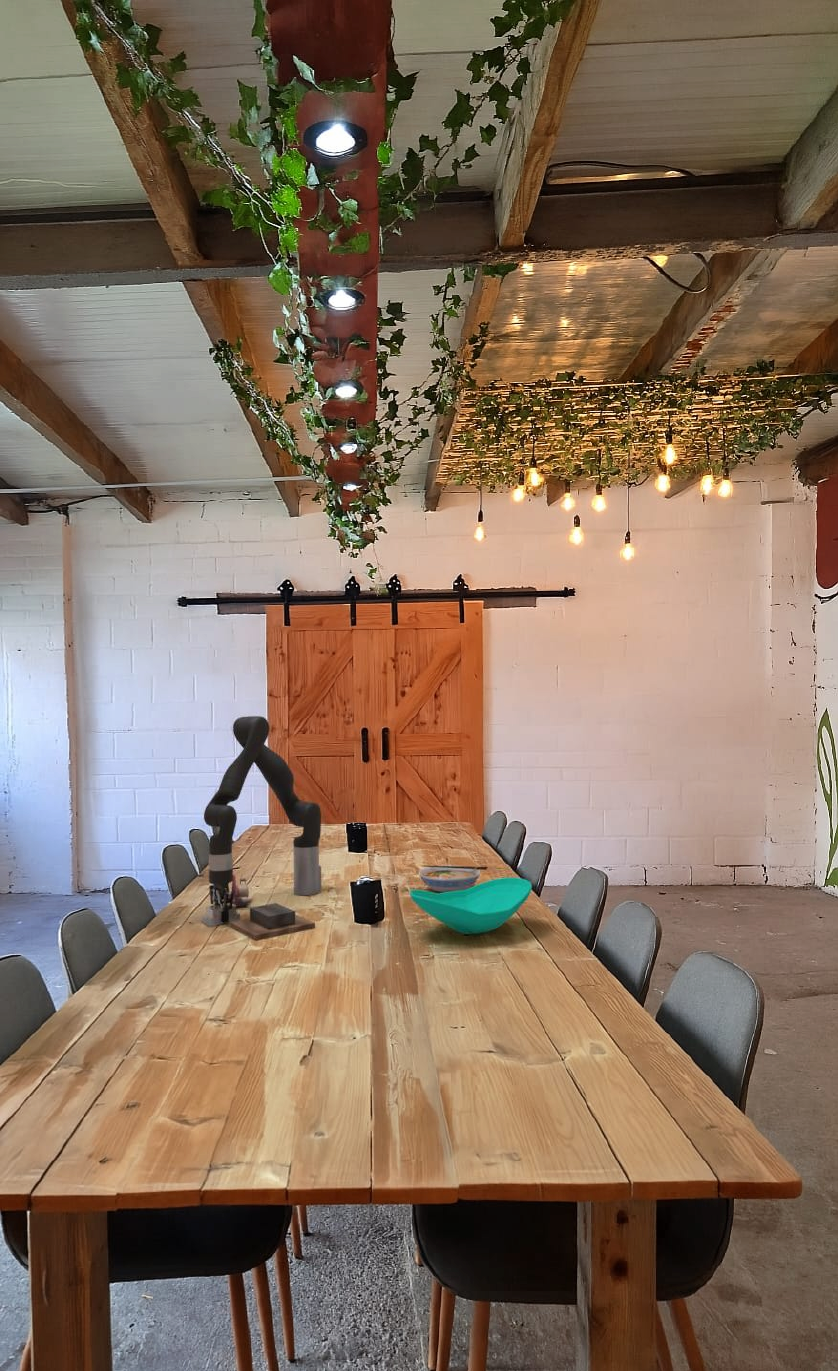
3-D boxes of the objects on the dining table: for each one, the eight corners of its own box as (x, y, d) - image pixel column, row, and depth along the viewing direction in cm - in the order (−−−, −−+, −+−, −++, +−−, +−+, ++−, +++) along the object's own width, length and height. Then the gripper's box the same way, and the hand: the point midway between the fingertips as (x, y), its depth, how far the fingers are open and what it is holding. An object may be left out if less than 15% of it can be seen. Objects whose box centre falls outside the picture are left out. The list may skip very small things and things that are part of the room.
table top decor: (434, 954, 214) (434, 905, 214) (393, 928, 239) (393, 885, 239) (553, 933, 231) (552, 889, 232) (503, 911, 256) (503, 871, 256)
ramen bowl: (407, 897, 276) (407, 874, 277) (425, 883, 298) (425, 861, 298) (476, 902, 269) (475, 878, 269) (489, 886, 291) (489, 864, 291)
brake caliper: (212, 897, 270) (233, 868, 273) (238, 914, 273) (258, 885, 276) (216, 905, 260) (238, 875, 263) (243, 922, 263) (264, 892, 266)
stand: (287, 915, 255) (287, 898, 255) (315, 927, 241) (314, 909, 241) (230, 927, 243) (230, 909, 243) (255, 940, 229) (255, 921, 229)
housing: (231, 916, 254) (231, 901, 254) (240, 921, 249) (240, 905, 249) (202, 922, 248) (202, 906, 248) (210, 927, 243) (210, 910, 243)
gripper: (241, 869, 245) (241, 923, 245) (222, 862, 257) (223, 913, 256) (218, 872, 241) (219, 927, 241) (200, 865, 252) (201, 918, 252)
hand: (221, 920), depth 249 cm, fingers closed on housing, 5 cm apart
